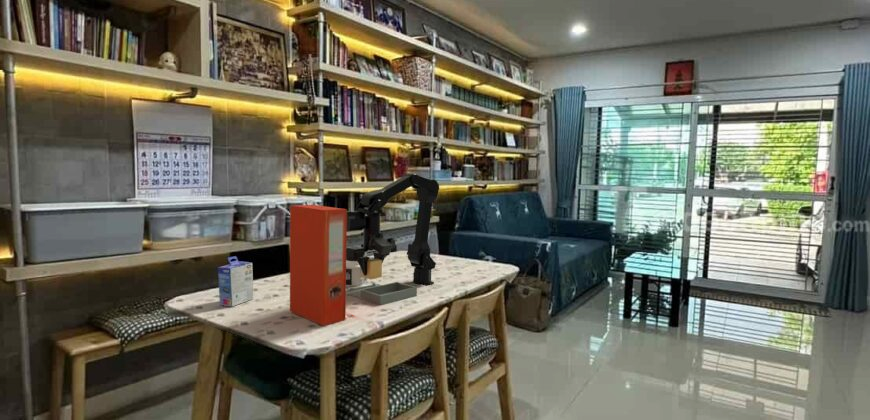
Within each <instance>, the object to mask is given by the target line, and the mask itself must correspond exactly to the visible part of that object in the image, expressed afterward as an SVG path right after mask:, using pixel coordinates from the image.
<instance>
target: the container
mask: <svg viewBox="0 0 870 420" xmlns="http://www.w3.org/2000/svg"><path fill="white" fill-rule="evenodd" d="M367 283H368V279H367V278H364V277H361V268H360V265H359V263H358V262H357V260H356V258H352V257H348V256H346V288H349V287H357V286H362V285H365V284H367Z"/></svg>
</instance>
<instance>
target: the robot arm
mask: <svg viewBox="0 0 870 420" xmlns="http://www.w3.org/2000/svg"><path fill="white" fill-rule="evenodd" d="M410 187H411V188H413V189H415V190H416V196H417V199H418V202H419V203H418V209H417V210H418V211H417V219H416V225H415V226H416V227H415V233H414V234H415V235H414V240H413V241H412V243H408V245H407V251H406V255H407V259H408V262H410V266H411V267H414V268H413V273H412V275H413V276H412V277H413V279H412V281H411V283H414V284H417V285H421V286H428V285H432V284H435V282H434V281H433V280H432V270H435V269H436V265H437V263H436V262H435V260H434V259H433V258H432V257H431V248H430V245H429V242H428V241H429V240H428V239H429V232H430V225H431V216H432V209H433V203H434V202H435V201H436V199H437V198H438V195H439V191H440V184H439V182H438V181H437V180H436V179H429V178H426V177H423V176H421V175H418V174H416V173H406V174H405V175H404V176H401V177H400V178H398V179H397V180H395V181H393V182H391V183H389V184H387V185H386V186H383V187H382V188H380V189H375V190H372V191H368V192H366V193H363V194H362V195H361V199H360V201H359V203H358V205H357V206H356V207H355V210H353V211H349V210H347V233H350V232H360V231H362V232H360V235H361V236H363V237H362V238H363V240H362V241H363V243H361V244H360V247H358V246H351V247H350V246H348V247H346V256H348V257H352V258H356V260H357V262H358V263H359V265H360V268H361V270H362V272H363V274H364V275H365V276H367V261H368V259H369V258H371V257H370V256H368V254H370V253H372V254H373V258H377V259H380V260H382V264H383V263H384V260H385V259H386V258H387V257H388V256H390V254H391V253H397V248H398V247H397V245H396V239H395V238H394V237H389V238H384V234H383V232H381V217H386V216H387V214H386V213H385V212H384V211H383V210H382V209H383V208H384V207H385V206H386V205H387V204H388V202H389V201H390V200H391V199H392V198H394V197H395V196H397V195H399V194H401V193H402V192H404V191H406V190H407V189H409V188H410Z"/></svg>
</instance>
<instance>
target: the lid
mask: <svg viewBox="0 0 870 420" xmlns="http://www.w3.org/2000/svg"><path fill="white" fill-rule="evenodd" d="M381 285H382V284H379V283H378V282H371V283H368V284H367V283H366V284H363V285H361V286H350V287H347V288H346V295H349V296H352V297H355V298H357V299H361V290H363V289H367V288H372V287H376V286H381Z"/></svg>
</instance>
